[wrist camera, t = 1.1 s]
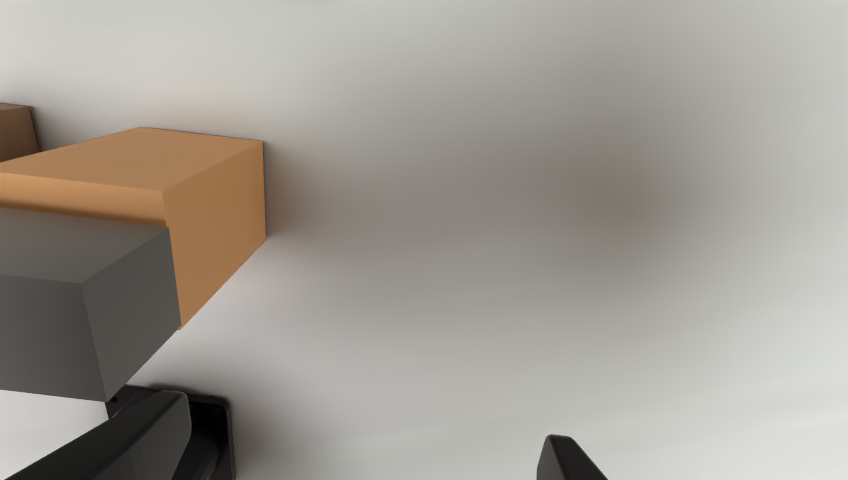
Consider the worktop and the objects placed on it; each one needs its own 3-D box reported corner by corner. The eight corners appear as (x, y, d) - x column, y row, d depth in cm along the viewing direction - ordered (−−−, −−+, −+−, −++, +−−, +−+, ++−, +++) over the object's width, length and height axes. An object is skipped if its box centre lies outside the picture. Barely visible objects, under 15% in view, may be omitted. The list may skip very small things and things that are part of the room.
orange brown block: (266, 239, 20) (180, 330, 14) (154, 226, 20) (15, 310, 14) (262, 141, 18) (161, 191, 12) (140, 126, 18) (-27, 169, 12)
